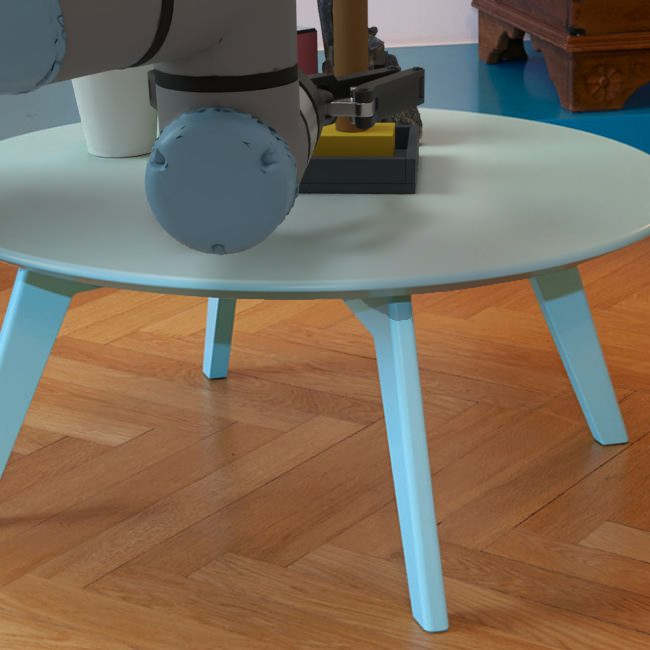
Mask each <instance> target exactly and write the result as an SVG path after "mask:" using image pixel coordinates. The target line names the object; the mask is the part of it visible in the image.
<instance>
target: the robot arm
mask: <svg viewBox="0 0 650 650" xmlns="http://www.w3.org/2000/svg"><path fill="white" fill-rule="evenodd" d="M297 14H298V13H297V0H0V96H6V95H8V96H9V95H11V96H17V95H22V94H29V93H32V92H36V91H38V89H40V88H42V87H45V86H48V85H52V84H57V83H62V82H65V81H70V80H71V79H75V78H79V77H84V76H88V75H92V74H97V73H101V72H106V71H111V70H123V69H126V68H135V67H140V66H145V65H150V64H153V65H154V69H152V70H149V71H148V72H147V75H148V89H149V100H150V106H152V107H153V108H154V109H156V110H157V111H158V119H157V123H158V134H159V136H157V139H156V140H155V143H154V144H153V146H152V152H150V153H149V157H148V159H147V162H146V167H145V173H144V188H145V195H146V199H147V202H148V205H149V208H150V210H151V212H152V214H153V216H154V218H155V219H156V221H157V222H158V223H159V225H160V226H161V228H162V229H163V230H164V231H165V232H166V233H167V234H168V235H169V236H171V237H172V238H173V239H174V240H175V241H177V242H179V243H180V244H181V245H183V246H185V247H187V248H188V249H189V248H190V249H192V250H194V251H196V252H200V253H204V254H209V255H218V256H225V255H233V254H238V253H241V252H245V251H248V250H250V249H253V248H254V247H257V246H258V245H260V244H262V243H263V242H264V241H265V240H267V239H268V238H269V237H270V236H271V235H272V234H273V233H274V232H275V230H276V229H277V228H278V227H279V226H280V225H281V224H282V223H283V222H284V221H285V220H286V216H288V215H290V213H291V210H292V208H294V206H295V201H296V199H297V198H298V197H299V193H298V192H299V185H300V182H301V180H302V177H303V174H304V172H305V169H306V168H307V165H308V163H309V161H310V158H311V156H312V154H313V152H314V150H315V147H316V145H317V143H318V140H319V138H320V135H321V132H322V129H323V126H328V125H332V124H334V123H335V122H336V120H337V118H338V116H350V123H351V124H355V127H356V128H358V129H362V130H366V129H368V128H372V127H373V126H374V125H375V123H376V122H377V121H380V120H382V119H385V118H387V117H390V116H393V115H395V114H398V113H400V112H403V111H405V110H408V109H411V108H413V107H416V106H417V107H418V106H421V105H424V104H425V86H426V82H425V81H426V79H425V78H426V69H425V68H424V67H421V66H413V67H410V68H407V69H404V70H402V67H401V66H400V65H399V66H388V54H389V51H388V50H384V51H378V54H377V57H376V60H375V64H374V70H369V71H364V72H359V73H354V74H349V75H344V76H338V77H335V76H334V75H331V74H324V73H322V72H318V73H316V74H310V75H306V74H305V73H304V72H303V71H302V70H300V69H299V68H298V64H297V63H298V55H297V26H298V19H297V17H298V16H297ZM315 85H317V88H316V87H315Z"/></svg>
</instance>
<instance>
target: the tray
mask: <svg viewBox="0 0 650 650" xmlns="http://www.w3.org/2000/svg"><path fill="white" fill-rule="evenodd" d="M419 158H420V139H419V125H395V157H311V158H310V161H309V163H308V165H307V168H306V169H305V172H304V174H303V177H302V180H301V182H300V185H299V192H298V194H302V193H303V194H305V193H306V194H416V190H417V180H418V168H419Z"/></svg>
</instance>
